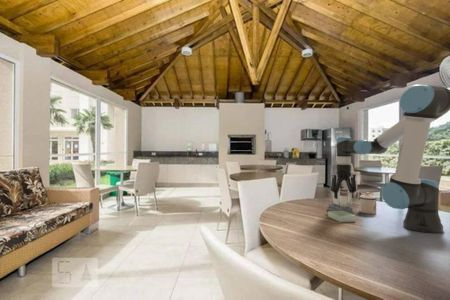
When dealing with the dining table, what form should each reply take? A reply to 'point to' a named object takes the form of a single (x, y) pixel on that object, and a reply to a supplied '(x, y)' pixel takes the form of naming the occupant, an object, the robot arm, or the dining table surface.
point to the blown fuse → (343, 198)
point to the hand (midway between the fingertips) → (343, 204)
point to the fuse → (334, 198)
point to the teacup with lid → (368, 203)
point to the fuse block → (339, 208)
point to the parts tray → (341, 216)
